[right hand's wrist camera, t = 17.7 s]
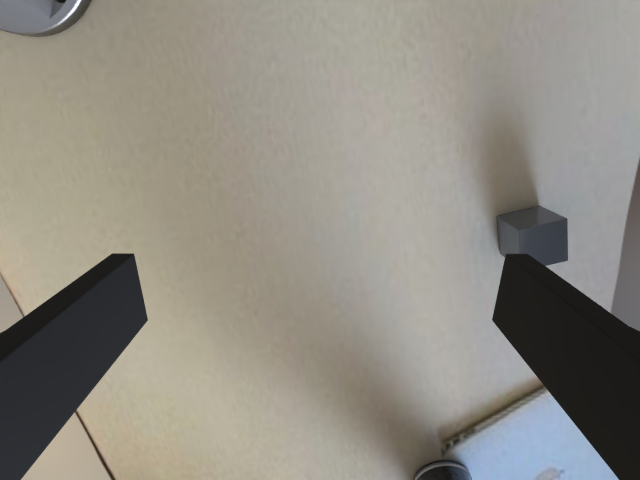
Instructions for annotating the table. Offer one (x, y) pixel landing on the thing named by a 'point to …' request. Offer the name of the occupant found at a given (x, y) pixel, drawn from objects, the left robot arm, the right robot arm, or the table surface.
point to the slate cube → (534, 235)
